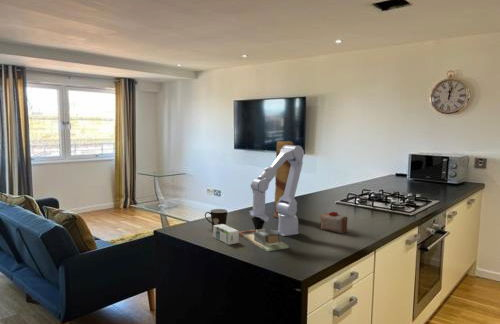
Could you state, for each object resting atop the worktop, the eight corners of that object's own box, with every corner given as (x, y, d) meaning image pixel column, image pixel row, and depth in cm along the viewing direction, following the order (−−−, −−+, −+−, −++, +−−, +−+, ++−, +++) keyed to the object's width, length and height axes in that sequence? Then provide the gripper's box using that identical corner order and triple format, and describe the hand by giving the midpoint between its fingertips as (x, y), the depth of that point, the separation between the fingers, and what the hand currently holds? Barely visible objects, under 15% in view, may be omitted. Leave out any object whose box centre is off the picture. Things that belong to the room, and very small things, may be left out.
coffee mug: (230, 230, 183) (231, 211, 182) (217, 233, 177) (217, 213, 176) (216, 225, 191) (216, 207, 190) (203, 228, 185) (203, 209, 184)
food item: (317, 229, 188) (318, 211, 187) (325, 226, 194) (326, 208, 193) (341, 234, 179) (342, 215, 179) (349, 231, 185) (349, 212, 185)
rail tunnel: (257, 231, 181) (257, 220, 181) (288, 247, 158) (289, 235, 157) (237, 234, 176) (237, 223, 176) (267, 251, 152) (267, 238, 152)
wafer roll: (286, 214, 220) (289, 140, 216) (294, 218, 210) (296, 141, 206) (271, 215, 217) (272, 140, 213) (277, 219, 207) (279, 141, 203)
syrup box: (228, 245, 160) (212, 236, 171) (239, 242, 163) (222, 234, 175) (228, 232, 159) (212, 225, 171) (239, 230, 162) (223, 223, 174)
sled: (264, 236, 170) (264, 228, 169) (278, 244, 159) (278, 235, 159) (255, 238, 167) (255, 229, 167) (268, 245, 157) (269, 236, 156)
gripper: (244, 202, 172) (243, 229, 174) (259, 208, 160) (258, 238, 161) (256, 201, 176) (256, 228, 177) (272, 206, 163) (272, 236, 164)
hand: (258, 232), depth 169 cm, fingers closed
